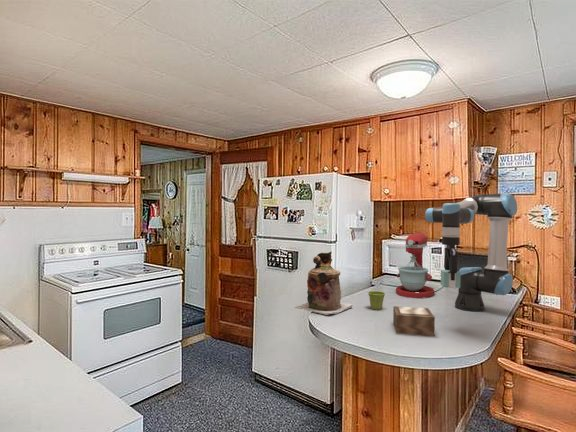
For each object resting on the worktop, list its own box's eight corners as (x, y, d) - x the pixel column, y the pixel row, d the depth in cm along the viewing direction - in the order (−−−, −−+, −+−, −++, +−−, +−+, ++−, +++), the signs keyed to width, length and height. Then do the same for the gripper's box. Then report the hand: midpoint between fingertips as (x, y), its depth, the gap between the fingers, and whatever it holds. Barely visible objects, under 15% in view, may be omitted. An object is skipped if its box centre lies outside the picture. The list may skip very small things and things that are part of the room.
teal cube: (456, 285, 175) (456, 270, 175) (460, 288, 168) (460, 272, 168) (440, 284, 177) (440, 269, 177) (443, 287, 170) (444, 272, 170)
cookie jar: (318, 301, 223) (318, 248, 223) (354, 308, 208) (355, 251, 207) (292, 309, 204) (293, 251, 204) (330, 317, 189) (331, 254, 188)
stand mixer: (390, 295, 241) (390, 233, 240) (403, 287, 267) (404, 231, 267) (428, 300, 228) (429, 235, 227) (438, 291, 254) (439, 233, 254)
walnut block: (427, 324, 177) (428, 307, 177) (434, 335, 162) (434, 316, 162) (393, 322, 181) (393, 305, 180) (396, 332, 165) (396, 313, 165)
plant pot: (385, 311, 202) (385, 295, 202) (367, 309, 204) (368, 294, 204) (384, 306, 211) (384, 291, 211) (367, 305, 213) (367, 290, 213)
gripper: (437, 234, 183) (437, 281, 183) (447, 237, 163) (446, 289, 164) (454, 235, 181) (453, 282, 182) (465, 238, 162) (464, 290, 162)
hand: (450, 285), depth 173 cm, fingers closed on teal cube, 7 cm apart
